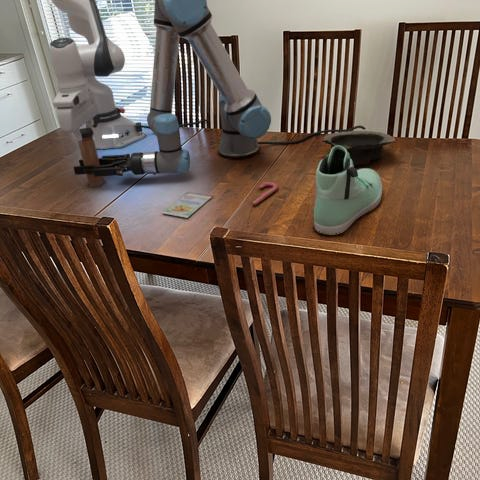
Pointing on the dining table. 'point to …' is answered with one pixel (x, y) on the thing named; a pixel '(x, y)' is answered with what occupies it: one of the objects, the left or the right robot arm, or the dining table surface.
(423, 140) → the dining table surface
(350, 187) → the sneaker
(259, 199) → the candy cane
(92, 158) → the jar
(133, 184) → the dining table surface
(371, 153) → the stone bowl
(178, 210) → the baking ingredient package
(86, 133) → the lid
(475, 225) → the dining table surface
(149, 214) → the dining table surface
